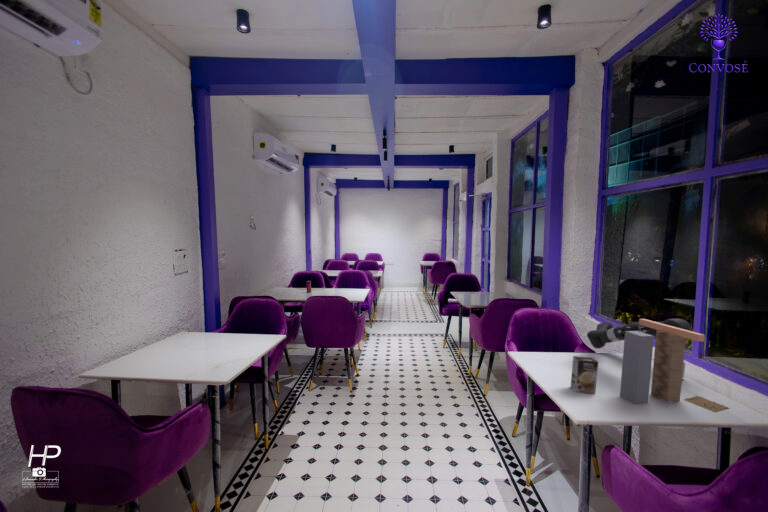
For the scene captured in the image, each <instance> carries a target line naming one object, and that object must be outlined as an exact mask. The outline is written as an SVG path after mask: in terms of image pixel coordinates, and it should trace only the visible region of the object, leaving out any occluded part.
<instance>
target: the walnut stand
mask: <svg viewBox="0 0 768 512" xmlns="http://www.w3.org/2000/svg"><path fill="white" fill-rule="evenodd" d="M686 340H687V338H684V337H681V336H677V335H674V334H670V333H667V332H663V331H660V330H659V331H656V336H655V344H654V354H653V368H652V377H651V387H650V388H651V389H650V390H651V391H650V394H651V395H652V396H654V397H656V398H658V399H659V400H663V401H664V402H666V403H674V402H681V393H682V391H681V390H682V383H683V382H682V372H683V361H684V360H685V352H684V350H685V349H686ZM685 351H686V350H685ZM684 362H685V361H684Z"/></svg>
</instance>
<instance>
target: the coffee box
mask: <svg viewBox="0 0 768 512" xmlns="http://www.w3.org/2000/svg"><path fill="white" fill-rule="evenodd" d="M571 368H572V369H571V378H570V387H571V389H572V390H574V392H576V393H585V394H596V393H597V392H596V390H597V380H598V369H599V362H598V360H596V359H595V358H593V357H587V356H577V355H576V356H575V355H574V356H572V367H571Z"/></svg>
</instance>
